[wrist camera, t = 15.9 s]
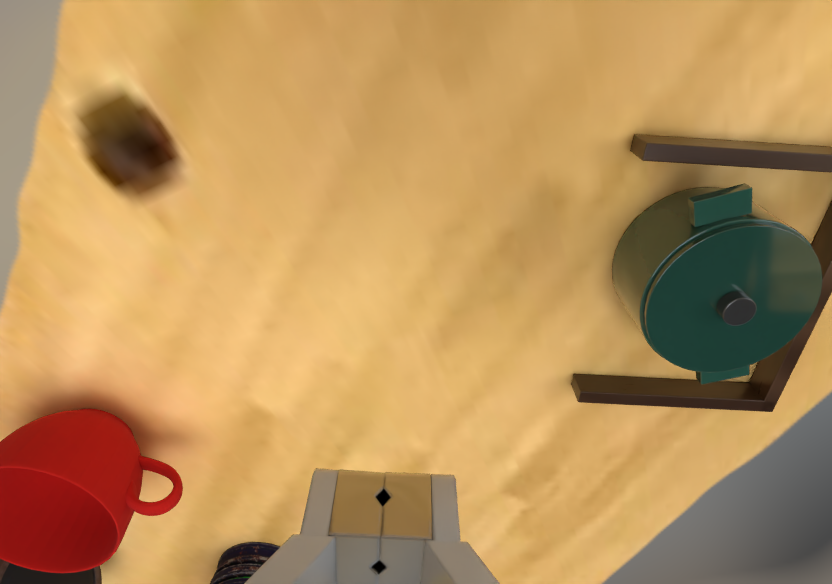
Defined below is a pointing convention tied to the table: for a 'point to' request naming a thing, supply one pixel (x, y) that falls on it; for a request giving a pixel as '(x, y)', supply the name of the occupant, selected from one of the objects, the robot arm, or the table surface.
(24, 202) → the table surface
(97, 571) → the alarm clock
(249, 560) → the storage jar
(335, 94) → the table surface
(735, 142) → the frame
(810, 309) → the pot
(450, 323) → the table surface
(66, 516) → the ceramic cup
